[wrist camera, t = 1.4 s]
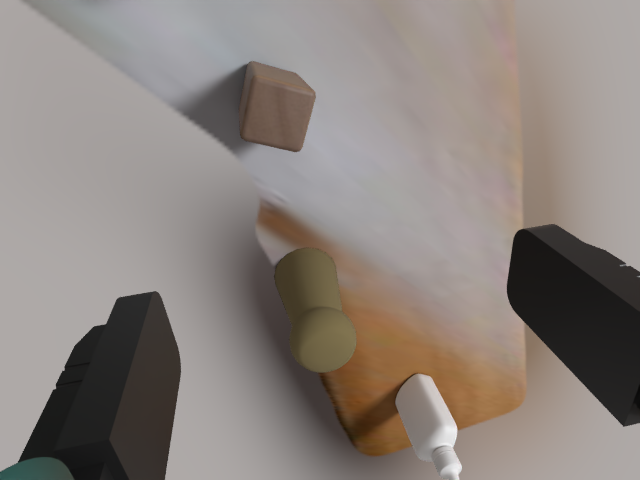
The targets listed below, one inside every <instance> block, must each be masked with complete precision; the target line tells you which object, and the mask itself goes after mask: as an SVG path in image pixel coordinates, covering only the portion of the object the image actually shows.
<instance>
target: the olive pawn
mask: <svg viewBox="0 0 640 480" xmlns="http://www.w3.org/2000/svg"><path fill="white" fill-rule="evenodd" d="M274 278H275V284H276V287H277V289H278V291H279V294H280V296H281V299H282V302H283V304H284V307H285V309H286V311H287V314H288V316H289V319H290V322H291V324H292V329H291V333H290V339H289V340H290V346H291V352H292V354H293V356H294V358H295V359H296V360H297V362H298V363H299V364H300V365H302V366H303V367H305V368H306V369H307V370H310V371H314V372H329V371H333V370H336V369H338V368H340V367H342V366H343V365H344V364H345V363H347V362H348V361H349V359H350V358H351V357H352V355H353V353H354V350H355V347H356V331H355V328H354V326H353V324H352V322H351V320H350V319H349V318H348V317H347V315H345V314H344V313H343V312H342V306H341V299H340V292H339V286H338V279H337V272H336V266H335V264H334V262H333V260H332V258H331V257H330V256H329V255H328V254H327V253H325V252H323V251H321V250H319V249H314V248H303V249H297V250H295V251H293V252H291V253H289V254H287V255H286V256H285V257H284V258H283V259H281V260H280V262H279V264H278V265H277V267H276V270H275V275H274Z"/></svg>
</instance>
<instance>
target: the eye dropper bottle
mask: <svg viewBox="0 0 640 480" xmlns="http://www.w3.org/2000/svg"><path fill="white" fill-rule="evenodd" d="M395 404H396V407H397V410H398V412H399V415H400V417H401V419H402V422H403V424H404V427H405V429H406V432H407V434H408V436H409V439H410V441H411V444H412V446H413V448H414V450H415V453H416V455H417V456H418V458H419V459H421V460H424V461H433V462H434V465H435V467H436V469H437V472H438V474H439V476H440V477H441V478H443V479H449V480H459V477H458V474H459V473H460V472H461V470H462V466H461V464H460V462H459V460H458V458H457V456H456V454H455V452H454V450H453V446H454V444H455V441H456V437H457V426H456V424H455V421H454V419H453V418H452V416H451V414H450V412H449V410H448V408H447V406H446V404H445V402H444V400H443V399H442V397H441V395H440V393H439V391H438V389H437V387H436V385H435V384H434V382H433V380H432V378H431V377H430V376H427V375H423V374H415V375H413V376H412V377H411V378H409V379H408V380H407V381H406V382H405V383H404V384H403V385H402V387H401V388H400V390H399V392H398V394H397V397H396V401H395Z"/></svg>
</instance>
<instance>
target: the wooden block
mask: <svg viewBox="0 0 640 480" xmlns="http://www.w3.org/2000/svg"><path fill="white" fill-rule="evenodd" d="M315 98H316V96H315V91H314V90H313V89H312V88H311V87H310V86H309V85H308V84H307V83H306V82H305V81H304V80H303V79H302V78H301V77H300V76H299V75H297V74H296V73H293V72H290V71H286V70H282V69H279V68H275V67H272V66H268V65H265V64H261V63H258V62H254V61H253V62H249V64H248V65H247V69H246V74H245V79H244V84H243V90H242V95H241V100H240V105H239V123H240V135H241V138H242V139H243V140H245V141H248V142H253V143H257V144H262V145H266V146H270V147H275V148H279V149H284V150H288V151H292V152H298V151H300V150H301V149H302V147H303V143H304V139H305V136H306V132H307V128H308V124H309V121H310V117H311V113H312V109H313V105H314V102H315Z"/></svg>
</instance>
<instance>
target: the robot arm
mask: <svg viewBox="0 0 640 480" xmlns="http://www.w3.org/2000/svg"><path fill="white" fill-rule="evenodd" d="M507 295H508V299H509V302H510V304H511V306H512V308H513V310H514V311H515V312H516V314H517V315H518V316H519V317H520V318H521V319H522V320H523V321H524V322H525V323H526V324H527V325H528V326H529V327H530V328H531V329H532V330H533V332H534V333H535V334H536V335H537V336H538V337H539V338H540V339H541V340H542V341H543V342H544V343H545V344H546V345H547V346H548V347H549V348H550V349H551V351H552V352H553V353H554V354H555V355H556V356H557V357H558V358H559V359H560V360H561V361H562V362H563V363H564V364H565V365H566V366H567V367H568V368H569V369H570V371H572V373H573V374H574V375H575V376H576V377H577V378H578V379H579V380H580V381H581V382H582V383H583V384H584V385H585V386H586V387H587V388H588V389H589V391H590V392H591V393H592V394H593V395H594V396H595V397H596V398H597V399H598V400H599V401H600V402H601V403H602V404H603V405H604V406H605V407H606V408H607V409H608V410H609V412H610V413H611V414H612V415H613V416H614V417H615V418H616V419H617V420H618V421H619V422H620V423H621V424H622V425H623V426H628V425H633V424H637V423H640V272H639V271H637V270H636V269H634V268H633V267H631V266H626V263H625V262H623V261H621V260H620V259H618V258H617V257H615V256H613V255H612V254H610V253H609V252H607V251H606V250H603V249H600V248H597V247H595V246H592V245H589V244H586V243H584V242H582V241H581V240H579V239H578V238H576V237H575V236H573V235H572V234H570V233H568V232H567V231H565V230H564V229H562V228H561V227H559V226H557V225H555V224H549V225H543V226H538V227H532V228H526V229H521V230H519V231H518V232H517V233H516V234H515V236H514V240H513V247H512V254H511V261H510V267H509V274H508V281H507ZM180 375H181V363H180V356H179V351H178V346H177V343H176V340H175V337H174V334H173V332H172V328H171V325H170V322H169V319H168V317H167V313H166V310H165V307H164V304H163V301H162V298H161V296H160V294H159V293H158V292H156V291H154V292H148V293H142V294H137V295H131V296H125V297H120V298H118V299H117V300H116V302H115V305H114V307H113V309H112V312H111V314H110V317H109V319H108V321H107V324H105V325H100V326H94V327H93V328H92V329H91V330H90V331H89V332H88V333H87V334H86V335H85V336H84V337H83V338H82V339H81V340H80V341H79V342H78V343H77V344H76V345H75V346H74V349H73V350H72V352H71V354H70V357H69V359H68V361H67V363H66V365H65V371H62V373H61V375H60V377H59V379H58V381H57V383H56V389H55V390H53V392H52V394H51V395H50V398H49V400H48V402H47V404H46V406H45V408H44V410H43V412H42V414H41V416H40V418H39V420H38V422H37V424H36V426H35V428H34V430H33V432H32V434H31V436H30V439H29V441H28V443H27V445H26V447H25V449H24V451H23V453H22V455H21V457H20V459H19V461H18V463H16V464H14V465H12V466H10V467H8V468H6V469H5V470H3V471H1V472H0V480H165V474H166V467H167V461H168V454H169V448H170V441H171V434H172V427H173V422H174V415H175V409H176V402H177V395H178V389H179V382H180Z"/></svg>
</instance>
